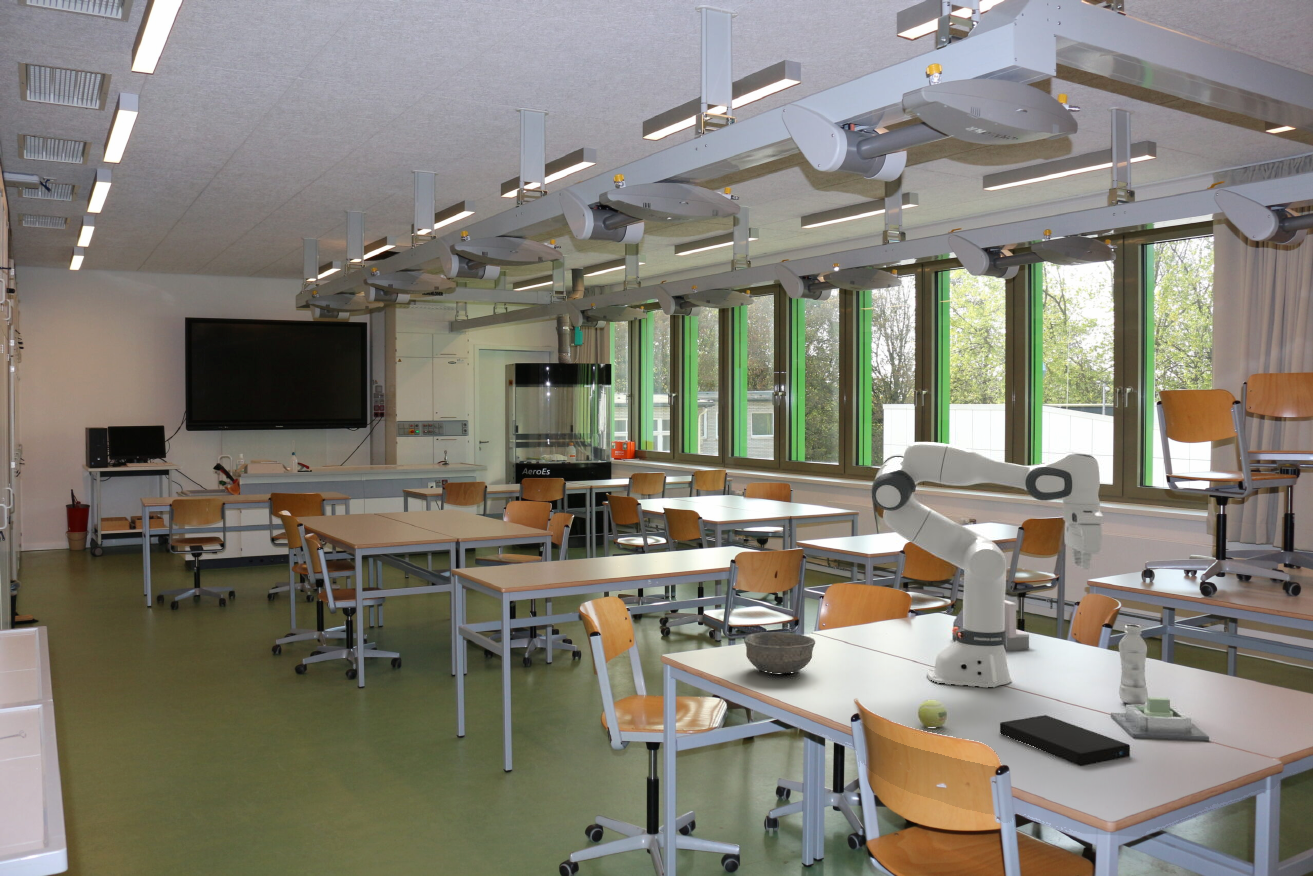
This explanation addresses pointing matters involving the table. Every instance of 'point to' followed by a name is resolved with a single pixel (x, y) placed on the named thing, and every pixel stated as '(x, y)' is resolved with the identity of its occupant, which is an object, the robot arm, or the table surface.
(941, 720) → the tennis ball
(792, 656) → the bowl
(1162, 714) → the stepped sage green block
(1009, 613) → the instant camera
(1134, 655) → the plastic bottle
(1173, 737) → the cap socket
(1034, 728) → the external hard drive
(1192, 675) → the table surface
